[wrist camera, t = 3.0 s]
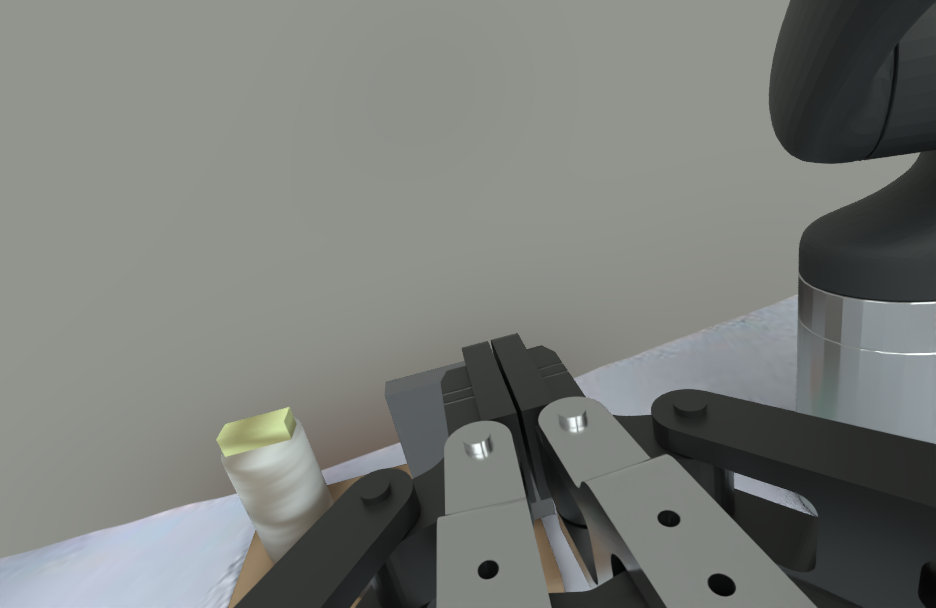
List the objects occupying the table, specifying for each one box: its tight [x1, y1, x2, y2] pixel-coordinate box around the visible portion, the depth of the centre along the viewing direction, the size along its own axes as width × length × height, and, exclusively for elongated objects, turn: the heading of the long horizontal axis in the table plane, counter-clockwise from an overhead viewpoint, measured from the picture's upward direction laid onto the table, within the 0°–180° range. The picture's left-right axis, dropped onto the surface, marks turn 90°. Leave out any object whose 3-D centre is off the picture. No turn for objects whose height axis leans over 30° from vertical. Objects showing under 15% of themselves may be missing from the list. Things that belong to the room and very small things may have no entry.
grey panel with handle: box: [359, 354, 555, 597], centre depth 34 cm, size 16×5×14 cm, turn 97°
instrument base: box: [217, 407, 565, 608], centre depth 38 cm, size 24×16×14 cm, turn 97°
